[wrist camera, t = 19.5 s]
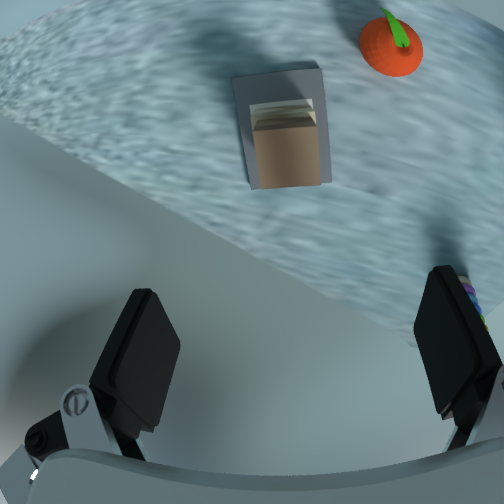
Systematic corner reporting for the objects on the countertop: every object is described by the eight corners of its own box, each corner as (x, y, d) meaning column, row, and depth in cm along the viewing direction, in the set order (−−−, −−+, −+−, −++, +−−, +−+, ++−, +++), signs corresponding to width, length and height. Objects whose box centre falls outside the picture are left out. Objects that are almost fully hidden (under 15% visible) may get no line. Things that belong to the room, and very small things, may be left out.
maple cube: (308, 103, 30) (314, 111, 25) (313, 153, 33) (320, 170, 28) (255, 109, 31) (250, 117, 26) (262, 158, 34) (259, 175, 29)
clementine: (340, 18, 24) (355, 7, 18) (393, 10, 22) (418, 0, 16) (364, 80, 28) (383, 84, 22) (414, 70, 26) (442, 74, 20)
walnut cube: (310, 116, 25) (317, 126, 21) (314, 165, 28) (320, 185, 24) (257, 120, 26) (252, 131, 22) (263, 169, 29) (260, 189, 25)
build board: (320, 68, 28) (321, 68, 27) (330, 179, 36) (332, 182, 35) (232, 78, 30) (230, 78, 29) (251, 186, 37) (251, 190, 37)
